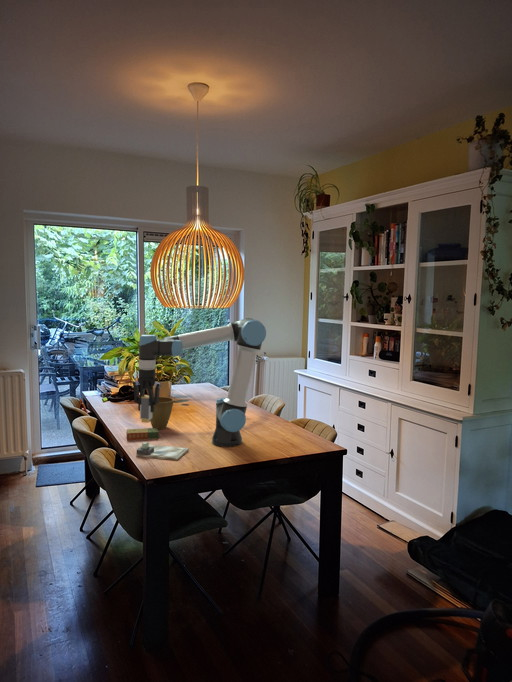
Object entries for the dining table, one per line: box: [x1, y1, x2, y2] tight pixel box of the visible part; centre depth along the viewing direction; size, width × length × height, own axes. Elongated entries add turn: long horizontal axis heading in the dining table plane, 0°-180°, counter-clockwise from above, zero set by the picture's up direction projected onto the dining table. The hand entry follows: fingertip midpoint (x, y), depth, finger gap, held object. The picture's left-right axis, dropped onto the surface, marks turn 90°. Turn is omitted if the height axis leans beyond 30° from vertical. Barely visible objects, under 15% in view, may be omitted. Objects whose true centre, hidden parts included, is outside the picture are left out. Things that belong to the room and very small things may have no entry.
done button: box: [141, 441, 150, 450], centre depth 232 cm, size 3×3×3 cm
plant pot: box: [149, 396, 174, 430], centre depth 277 cm, size 15×15×16 cm
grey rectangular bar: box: [141, 394, 151, 423], centre depth 231 cm, size 4×4×12 cm
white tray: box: [136, 443, 189, 461], centre depth 235 cm, size 20×15×3 cm
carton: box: [126, 427, 160, 441], centre depth 259 cm, size 8×16×4 cm, turn 107°
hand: (146, 418), depth 231 cm, fingers closed on grey rectangular bar, 3 cm apart
